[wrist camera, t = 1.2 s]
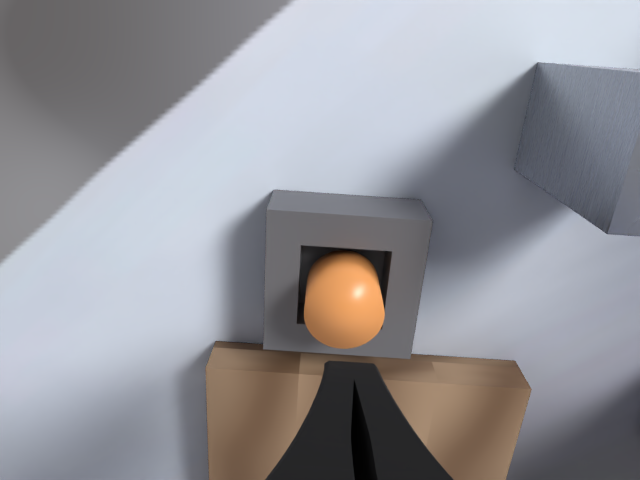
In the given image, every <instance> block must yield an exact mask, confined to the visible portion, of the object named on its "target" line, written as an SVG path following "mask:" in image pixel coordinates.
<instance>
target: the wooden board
mask: <svg viewBox="0 0 640 480" xmlns="http://www.w3.org/2000/svg"><path fill="white" fill-rule="evenodd" d="M329 360H330V361H345V362H360V363H374V364H375V365H376V366H377V368H378V370H379V372H380V374H381V376H382V378H383V380H384V382H385V384H386V386H387V388H388V390H389V391H390V393H391V395H392V397H393V399H394V400H395V402H396V404H397V405H398V407H399V408H400V410H401V411H402V413H403V415H404V416H405V418H406V419H407V421H408V422H409V424H410V425H411V427H412V428H413V430H414V431H415V432H416V434H417V435H418V437H419V438H420V439H421V441H422V442H423V443H424V445H425V446H426V447H427V449H428V450H429V451H430V453H431V454H432V455H433V456H434V457H435V459H436V460H437V461H438V462H439V463H440V465H441V466H442V467H443V468H444V469H445V470H446V472H447V473H448V474H449V475H450V476H451V477H452V478H453V479H454V480H506V477H507V473H508V470H509V466H510V463H511V459H512V456H513V452H514V449H515V445H516V442H517V438H518V435H519V431H520V428H521V424H522V421H523V418H524V414H525V411H526V407H527V404H528V400H529V397H530V393H531V390H532V389H531V387H530V386H529V384H528V382H527V381H526V379H525V377H524V375H523V374H522V372H521V370H520V368H519V367H518V365H517V363H516V361H510V360H494V359H479V358H464V357H449V356H434V355H419V354H411V358H410V359H402V358H387V357H372V356H357V355H342V354H327V353H312V352H296V351H281V350H266V349H263V344H252V343H237V342H222V341H216V342H215V344H214V347H213V350H212V352H211V355H210V357H209V360H208V363H207V365H206V400H207V432H208V464H209V480H265V479H266V478H267V476H268V475H269V474H270V473H271V471H272V470H273V469H274V467H275V466H276V465H277V463H278V462H279V461H280V459H281V458H282V456H283V455H284V453H285V452H286V450H287V449H288V447H289V446H290V444H291V442H292V441H293V439H294V438H295V436H296V434H297V432H298V431H299V429H300V427H301V425H302V423H303V421H304V420H305V418H306V416H307V414H308V412H309V410H310V408H311V405H312V403H313V401H314V399H315V396H316V394H317V391H318V389H319V386H320V383H321V380H322V376H323V372H324V364H325V363H326V362H327V361H329Z"/></svg>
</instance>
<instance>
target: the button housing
mask: <svg viewBox="0 0 640 480" xmlns="http://www.w3.org/2000/svg"><path fill="white" fill-rule="evenodd" d="M432 223H433V220H432V218H431V217H430V215H429V213H428V211H427V210H426V208H425V206H424V204H423V202H422V201H421V200H418V199H403V198H388V197H374V196H359V195H344V194H329V193H315V192H300V191H285V190H274V191H273V194H272V196H271V199H270V201H269V204H268V207H267V209H266V249H265V291H264V333H263V349H266V350H281V351H296V352H312V353H327V354H342V355H357V356H372V357H387V358H402V359H410V358H411V352H412V346H413V340H414V333H415V327H416V321H417V315H418V309H419V303H420V297H421V291H422V285H423V278H424V272H425V266H426V260H427V254H428V248H429V242H430V236H431V230H432ZM339 250H347V251H353V252H356V253H359V254H361V255H362V256H364V257H365V258H367V259H368V260H369V261H370V262H371V263H372V264H373V266H374V268H375V269H376V272H377V275H378V280H379V285H380V290H381V295H382V300H383V305H384V311H385V316H384V322H383V325H382V327H381V329H380V331H379V332H378V333H377V335H376V336H375V337H374V338H373V339H371V340H370V341H369V342H367V343H365V344H363V345H361V346H358V347H355V348H349V349H339V348H333V347H330V346H327V345H325V344H323V343H321V342H319V341H318V340H317V339H316V338H314V337H313V336H312V334H311V333H310V332H309V330H308V328H307V326H306V324H305V320H304V306H305V296H306V285H307V277H308V273H309V271H310V268H311V267H312V265H313V264H314V263H315V262H316V261H317V260H318V259H319V258H320V257H322V256H323V255H325V254H327V253H330V252H333V251H339Z"/></svg>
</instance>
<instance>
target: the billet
mask: <svg viewBox="0 0 640 480" xmlns="http://www.w3.org/2000/svg"><path fill="white" fill-rule="evenodd" d="M514 170H516V171H517V172H519V173H520V174H521V175H523V176H524V177H526V178H527V179H529V180H530V181H532V182H533V183H534V184H536V185H537V186H539V187H540V188H542V189H543V190H545V191H546V192H547V193H549V194H550V195H552V196H553V197H555V198H556V199H557V200H559V201H560V202H562V203H563V204H565V205H566V206H568V207H569V208H570V209H572V210H573V211H575V212H576V213H578V214H579V215H581V216H582V217H583V218H585V219H586V220H588V221H589V222H591V223H592V224H593V225H595V226H596V227H598V228H599V229H601V230H602V231H604V232H605V233H606V234H613V235H628V236H640V69H627V68H612V67H598V66H584V65H570V64H555V63H541V62H538V63H537V68H536V72H535V77H534V81H533V86H532V90H531V95H530V99H529V104H528V108H527V113H526V117H525V122H524V126H523V131H522V135H521V140H520V144H519V149H518V153H517V158H516V162H515V167H514Z"/></svg>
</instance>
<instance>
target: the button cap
mask: <svg viewBox="0 0 640 480" xmlns="http://www.w3.org/2000/svg"><path fill="white" fill-rule="evenodd" d="M384 316H385V311H384V305H383V300H382V295H381V290H380V285H379V280H378V275H377V272H376V269H375V268H374V266H373V264H372V263H371V262H370V261H369V260H368V259H367V258H365V257H364V256H362V255H361V254H359V253H356V252H353V251H347V250H339V251H333V252H330V253H327V254H325V255H323V256H322V257H320V258H319V259H318V260H317V261H316V262H315V263H314V264H313V265H312V267H311V268H310V271H309V273H308V277H307V285H306V296H305V306H304V320H305V324H306V326H307V328H308V330H309V332H310V333H311V334H312V336H313V337H314V338H316V339H317V340H318V341H319V342H321V343H323V344H325V345H327V346H330V347H333V348H339V349H349V348H355V347H358V346H361V345H363V344H365V343H367V342H369V341H370V340H371V339H373V338H374V337H375V336H376V335H377V333H378V332H379V331H380V329H381V327H382V325H383V322H384Z"/></svg>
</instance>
